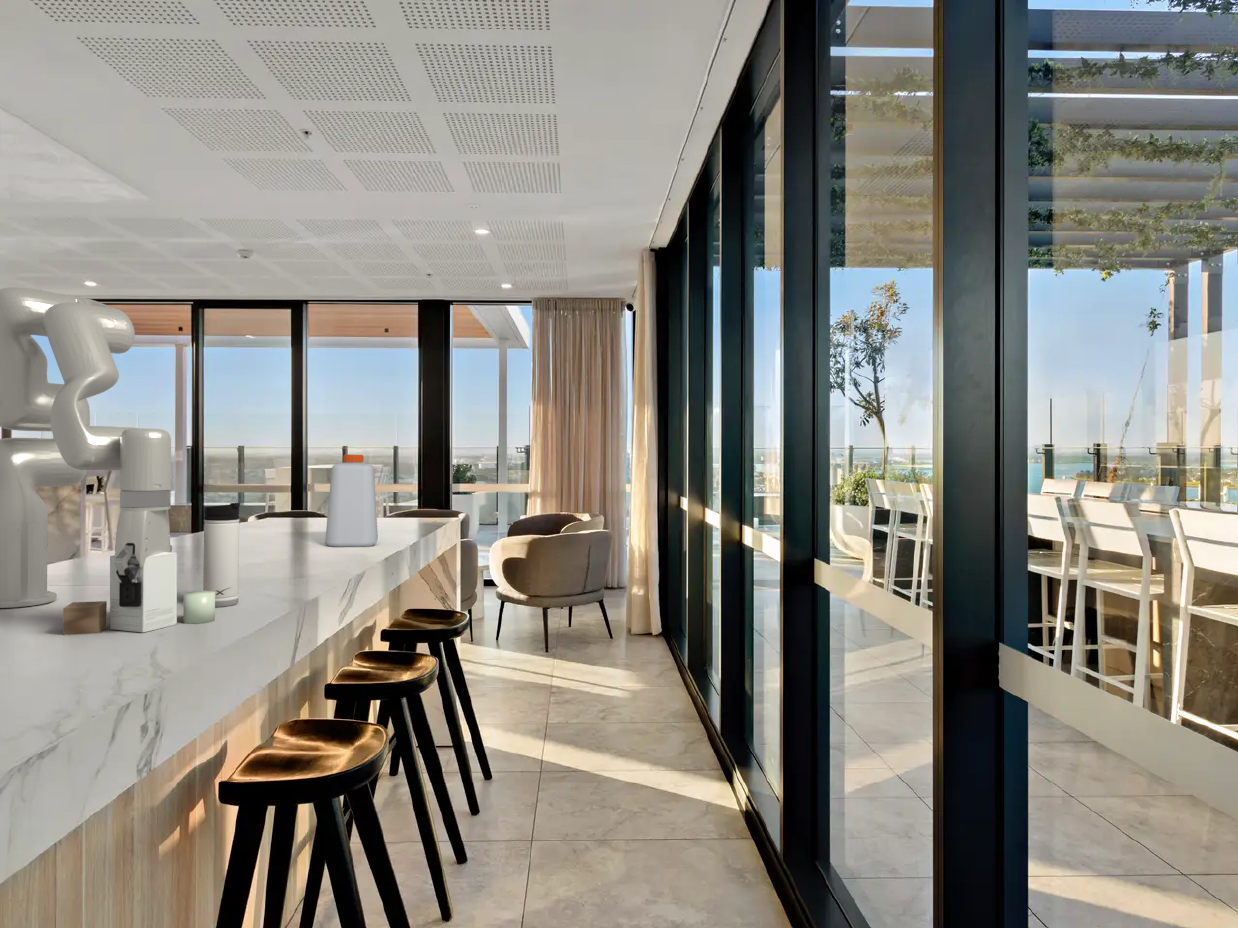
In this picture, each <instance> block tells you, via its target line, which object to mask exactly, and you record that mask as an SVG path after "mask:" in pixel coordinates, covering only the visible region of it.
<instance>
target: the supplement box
mask: <svg viewBox="0 0 1238 928" xmlns="http://www.w3.org/2000/svg"><path fill="white" fill-rule="evenodd" d="M177 561H178V552H164V553H160V554H157V555H153V556H149V557H147V558H146V559H145V564H144V565H143V567H142V568H141V571H140V578H139V581H138V582H141V605H140V606H138V607H121V606H120V605H119V583H118V575H117V573H116V571H117V569H116V567H115V554H113V555H109V580H110V581H109V629H110V630H113V631H114V630H115V631H116V630H117V631H124V632H125V631H126V632H135V633H147V632H151V631H155V630H159V629H160V630H161V629H163V628H168V627H171V626H175V625H177V624H178V608H177V607H178V592H177V591H178V583H177V582H178V562H177ZM128 564H139V561H137V559H136V557H130V559H129V563H128ZM134 572H135V570H133V571H132V573H133V574H134Z"/></svg>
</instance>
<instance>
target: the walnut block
mask: <svg viewBox="0 0 1238 928" xmlns="http://www.w3.org/2000/svg"><path fill="white" fill-rule="evenodd" d="M107 602H108V601H107V600H103V601H100V600H99V601H97V600H96V601H76V602H75V601H73V602H71V603H69V604H67V605H66V606H65V607H63V618H62V619H63V620H62V621H63V623H62V624H63V625H62V627H63V629H62V633H63V635H62V636H68V635H69V636H71V635H91V634H92V635H93V634H99V633H101V632H102V631H103V630H104V629H106V628H107V613H108V612H107V611H108V609H107V605H108V603H107Z"/></svg>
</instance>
